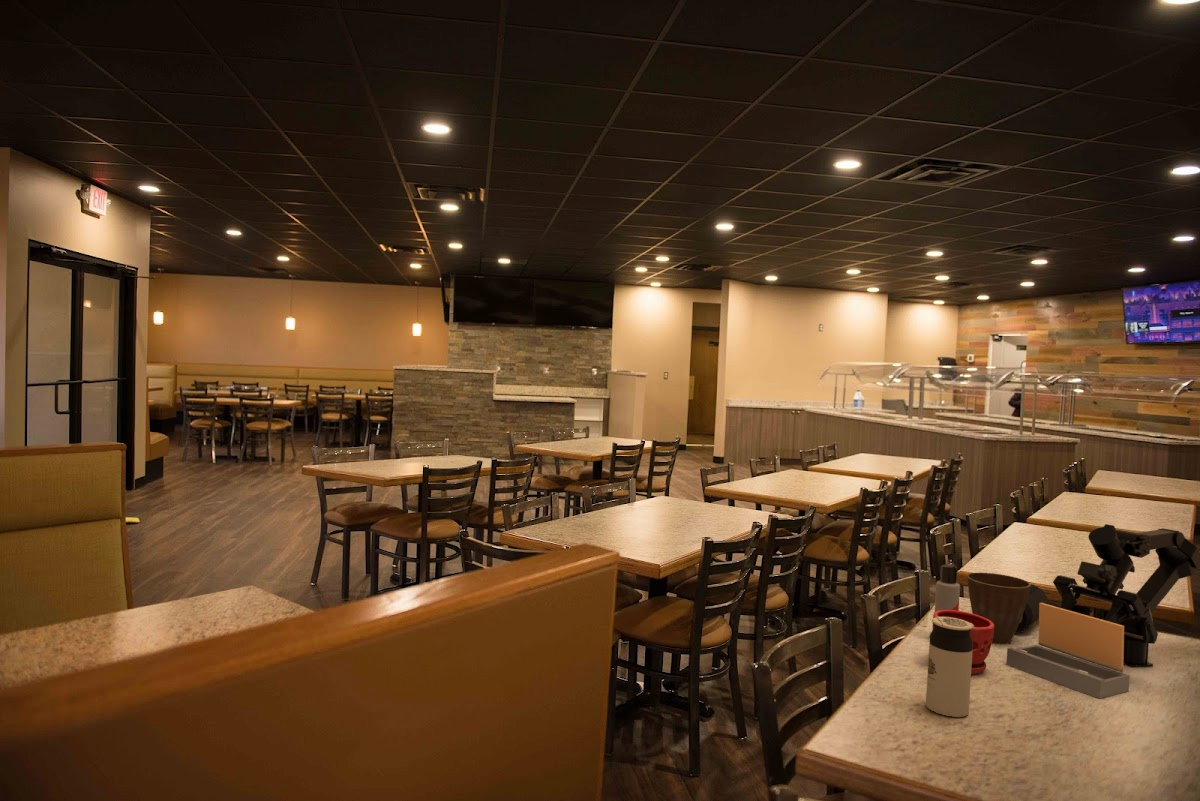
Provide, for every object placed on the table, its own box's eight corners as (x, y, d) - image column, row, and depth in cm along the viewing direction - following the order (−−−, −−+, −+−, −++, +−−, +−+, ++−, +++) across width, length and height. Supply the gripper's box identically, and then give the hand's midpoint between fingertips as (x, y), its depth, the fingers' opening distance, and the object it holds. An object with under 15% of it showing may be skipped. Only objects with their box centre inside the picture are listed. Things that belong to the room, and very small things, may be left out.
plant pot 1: (930, 671, 180) (933, 620, 179) (929, 654, 192) (932, 606, 192) (993, 682, 175) (997, 629, 175) (988, 664, 187) (991, 614, 187)
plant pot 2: (1038, 650, 199) (1042, 588, 199) (979, 647, 199) (983, 585, 199) (1008, 631, 214) (1012, 574, 213) (954, 629, 214) (957, 571, 214)
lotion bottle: (959, 645, 200) (963, 568, 199) (935, 642, 201) (940, 565, 201) (953, 638, 206) (958, 563, 205) (930, 636, 207) (935, 561, 206)
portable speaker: (1011, 612, 235) (1013, 579, 234) (1049, 620, 228) (1051, 586, 228) (989, 630, 215) (991, 594, 215) (1029, 639, 209) (1031, 602, 209)
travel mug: (966, 706, 160) (971, 619, 160) (970, 721, 153) (976, 630, 152) (924, 699, 163) (929, 613, 163) (927, 713, 155) (932, 624, 155)
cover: (1038, 645, 191) (1040, 644, 191) (1120, 672, 174) (1123, 671, 174) (1039, 603, 190) (1041, 602, 190) (1121, 626, 173) (1124, 625, 174)
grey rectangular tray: (1034, 658, 192) (1036, 640, 192) (1128, 691, 173) (1129, 670, 173) (1006, 664, 187) (1007, 645, 187) (1099, 698, 168) (1101, 677, 168)
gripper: (1060, 542, 193) (1029, 589, 188) (1142, 559, 176) (1110, 611, 171) (1076, 572, 197) (1046, 619, 192) (1158, 591, 180) (1128, 643, 175)
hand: (1081, 622), depth 182 cm, fingers open, 9 cm apart
